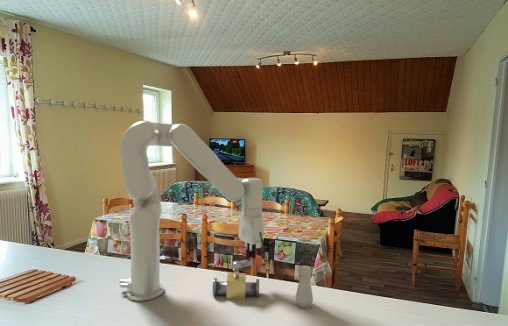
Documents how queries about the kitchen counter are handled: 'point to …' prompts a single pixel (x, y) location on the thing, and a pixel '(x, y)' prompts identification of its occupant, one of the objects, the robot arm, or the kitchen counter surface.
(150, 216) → the robot arm
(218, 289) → the valve pipe
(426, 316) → the kitchen counter surface
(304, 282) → the salt shaker
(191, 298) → the kitchen counter surface
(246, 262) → the valve lever
